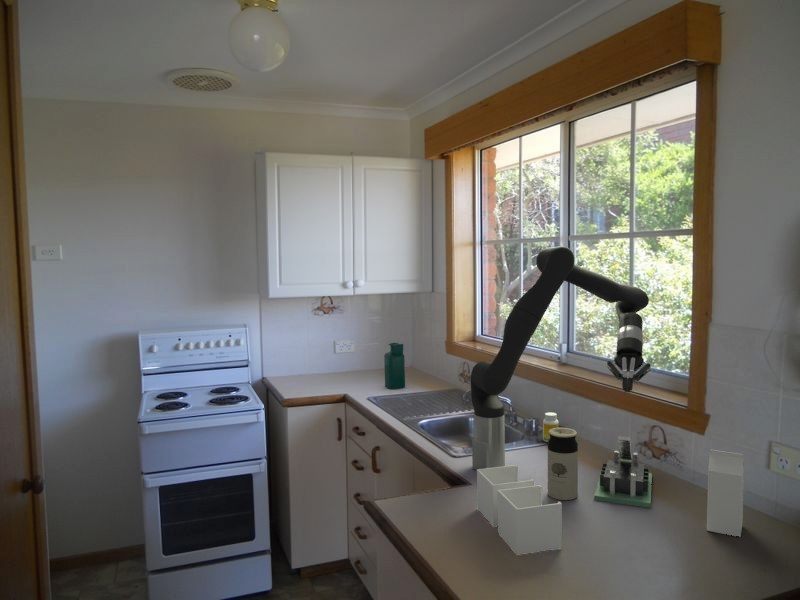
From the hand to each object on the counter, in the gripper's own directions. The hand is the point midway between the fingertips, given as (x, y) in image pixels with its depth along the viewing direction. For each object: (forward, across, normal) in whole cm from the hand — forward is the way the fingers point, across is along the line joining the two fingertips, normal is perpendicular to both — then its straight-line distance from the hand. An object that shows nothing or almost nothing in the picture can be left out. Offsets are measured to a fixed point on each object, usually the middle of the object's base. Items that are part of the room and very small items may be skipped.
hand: (627, 390), depth 180 cm
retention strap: (+18, 0, +3) cm, 18 cm away
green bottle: (-37, -110, +73) cm, 137 cm away
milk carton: (+38, +24, -3) cm, 45 cm away
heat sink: (+26, 0, +8) cm, 27 cm away
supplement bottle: (+2, -26, +34) cm, 43 cm away
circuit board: (+26, 0, +9) cm, 28 cm away
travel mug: (+34, -15, +2) cm, 37 cm away
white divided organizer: (+50, -23, -14) cm, 57 cm away
